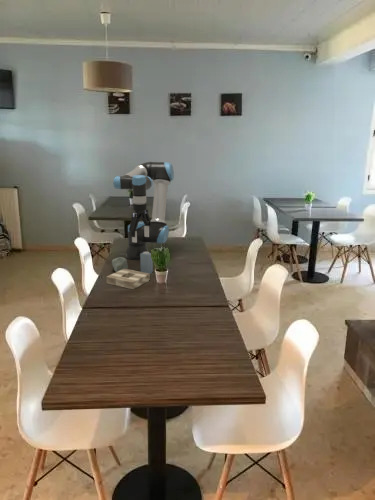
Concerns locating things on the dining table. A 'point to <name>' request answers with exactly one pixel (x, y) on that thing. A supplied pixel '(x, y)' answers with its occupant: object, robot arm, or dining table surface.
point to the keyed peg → (146, 262)
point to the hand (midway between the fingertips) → (140, 239)
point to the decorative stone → (119, 264)
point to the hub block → (128, 278)
